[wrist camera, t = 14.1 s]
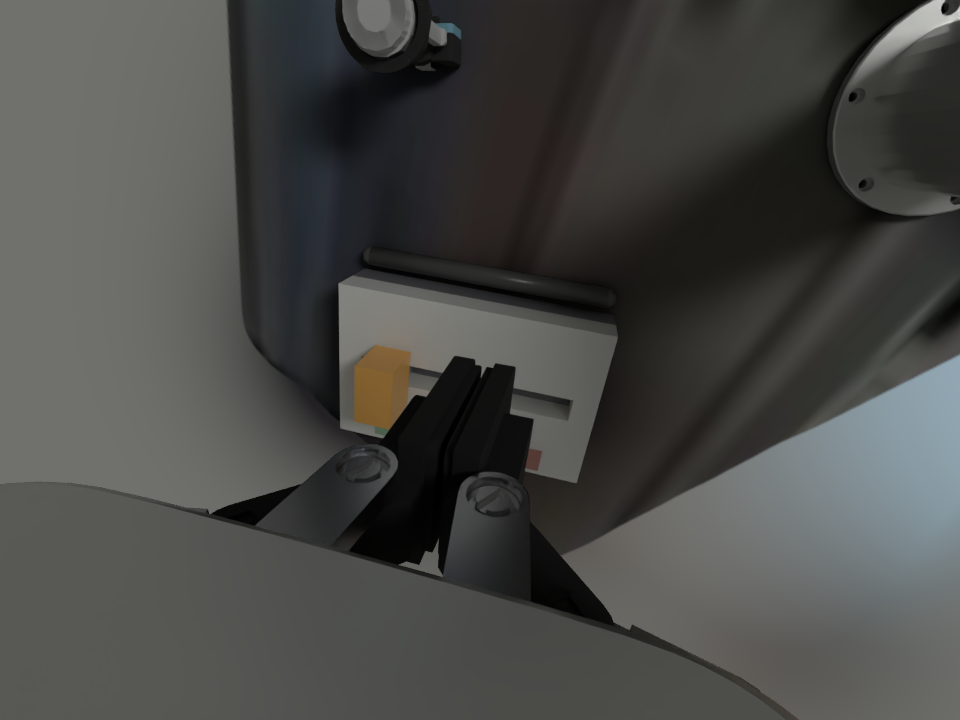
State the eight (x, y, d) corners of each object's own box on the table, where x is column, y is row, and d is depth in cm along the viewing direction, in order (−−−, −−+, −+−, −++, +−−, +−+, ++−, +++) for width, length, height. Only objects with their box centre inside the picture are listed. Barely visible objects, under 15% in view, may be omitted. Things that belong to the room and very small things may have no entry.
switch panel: (621, 288, 37) (626, 308, 33) (577, 449, 44) (576, 484, 40) (365, 242, 40) (337, 255, 35) (363, 401, 47) (339, 429, 43)
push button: (380, 89, 35) (310, 70, 26) (374, 2, 32) (296, -52, 24) (466, 89, 34) (424, 70, 25) (466, -1, 31) (421, -59, 22)
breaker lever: (420, 341, 40) (392, 374, 34) (416, 390, 42) (390, 429, 36) (386, 334, 40) (354, 365, 34) (384, 384, 42) (354, 421, 36)
